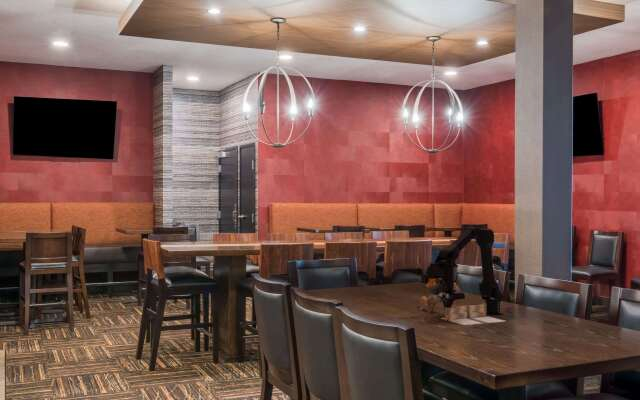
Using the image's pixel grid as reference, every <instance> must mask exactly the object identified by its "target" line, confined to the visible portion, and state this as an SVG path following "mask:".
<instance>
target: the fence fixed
mask: <svg viewBox="0 0 640 400" xmlns="http://www.w3.org/2000/svg"><path fill="white" fill-rule="evenodd" d="M486 316H487V314H486V303H485V302H481V304H475V305H469V318H474V317H486Z"/></svg>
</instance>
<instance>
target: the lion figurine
mask: <svg viewBox="0 0 640 400" xmlns="http://www.w3.org/2000/svg"><path fill="white" fill-rule="evenodd" d="M438 296H439V294H438V295H433V294H432V295H431V296H428V297H427V296H424V295H423V296H421V297H420V299H419V302H420V303H419V306H417V307H416V309H419V311H420V312H422V311H423V310H425V308H424V307H425V306H426V307H427V313H428V314H431V313H435V311H434V307H436V305H438V303H441V302H440V300H441V299H440V298H439V297H438Z"/></svg>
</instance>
